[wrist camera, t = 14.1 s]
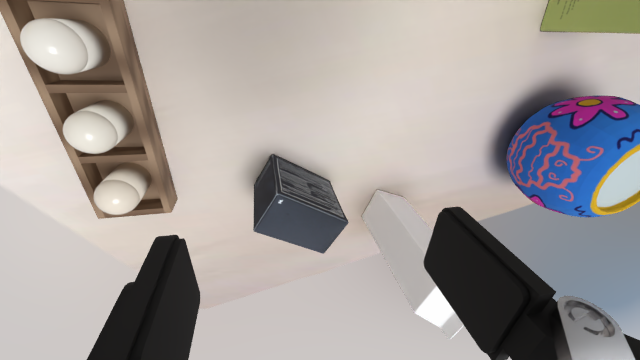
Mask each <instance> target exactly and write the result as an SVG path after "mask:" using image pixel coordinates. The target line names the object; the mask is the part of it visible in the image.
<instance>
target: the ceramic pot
mask: <svg viewBox="0 0 640 360" xmlns="http://www.w3.org/2000/svg"><path fill="white" fill-rule="evenodd" d="M507 166H508V171H509V174H510V176H511V178H512V180H513V182H514V184H515V185H516V186H517V187H518V188H519V189H520V190H521V191H522V193H523V194H524V195H525V196H526V197H528V198H529V199H530V200H531V201H532V202H534V203H536V204H537V205H540V206H542V207H544V208H547V209H549V210H552V211H556V212H559V213H563V214H567V215H571V216H578V217H598V216H606V215H611V214H614V213H617V212H620V211H623V210H625V209H627V208H629V207H631V206H633V205H634V204H636V203H637V202H639V201H640V105H638V104H636V103H634V102H632V101H629V100H626V99H623V98H620V97H615V96H586V97H577V98H571V99H567V100H563V101H559V102H556V103H553V104H551V105H549V106H546V107H544V108H543V109H541V110H540V111H538V112H537V113H535V114H534V115H533V116H531V117H530V118H528V119H527V121H526V122H525V123H524V124H523V125H522V126H521V127H520V128H519V129H518V131H517V132H516V134H515V135H514V137H513V138H512V140H511V142H510V145H509V148H508V152H507Z"/></svg>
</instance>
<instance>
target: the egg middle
mask: <svg viewBox="0 0 640 360" xmlns="http://www.w3.org/2000/svg"><path fill="white" fill-rule="evenodd" d="M133 127H134V120H133V117H132V115H131V113H130V112H129V111H128V110H127V109H126V108H125V107H124V106H122V105H121V104H119V103H117V102H114V101H110V100H102V101H98V102H96V103H94V104H92V105H90V106H88V107H85V108H83V109H81V110H79V111H77V112H75V113H73V114H72V115H70V116H69V117H68V118H67V119H66V120H65V122H64V125H63V134H64V137H65V139H66V140H67V142H68V143H69V144H70V145H71V146H72V147H74V148H75V149H77V150H79V151H82V152H85V153H90V154H99V153H104V152H106V151H109V150H110V149H112V148H113V147H114V146H116V145H117V144H118V143H119V142H120V141H121V140H123V139H124V138H125V137H126V136H127V135H128V134H130V133H131V131H132V130H133Z"/></svg>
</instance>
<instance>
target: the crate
mask: <svg viewBox="0 0 640 360" xmlns="http://www.w3.org/2000/svg"><path fill="white" fill-rule="evenodd" d="M0 12H1V14H2V16H3V18H4V20H5V22H6V24H7V27H8V29H9V31H10V33H11V35H12V37H13V39H14V41H15V44H16V46H17V48H18V50H19V52H20V54H21V56H22V58H23V60H24V63H25V65H26V67H27V69H28V71H29V73H30V75H31V77H32V79H33V82H34V84H35V86H36V88H37V90H38V92H39V94H40V96H41V99H42V101H43V103H44V105H45V107H46V109H47V111H48V113H49V115H50V118H51V120H52V122H53V124H54V126H55V128H56V130H57V132H58V134H59V137H60V139H61V141H62V143H63V145H64V147H65V149H66V151H67V154H68V156H69V158H70V160H71V162H72V164H73V166H74V168H75V170H76V173H77V175H78V177H79V179H80V181H81V183H82V185H83V187H84V189H85V192H86V194H87V196H88V198H89V200H90V202H91V204H92V206H93V209H94V211H95V213H96V215H97V217H98V219H100V218H112V217H124V216H136V215H147V214H159V213H171V212H172V210H173V208H174V206H175V203H176V201H177V195H176V191H175V188H174V184H173V181H172V177H171V173H170V170H169V166H168V162H167V159H166V155H165V151H164V148H163V144H162V140H161V137H160V133H159V129H158V126H157V122H156V118H155V115H154V111H153V107H152V104H151V100H150V96H149V93H148V89H147V85H146V82H145V78H144V75H143V71H142V67H141V64H140V60H139V56H138V53H137V49H136V45H135V42H134V38H133V34H132V31H131V27H130V23H129V20H128V16H127V12H126V9H125V5H124V1H123V0H0ZM41 18H52V19H78V20H83V21H86V22H88V23H90V24H92V25H94V26H95V27H97V28H98V29H99V30H100V31H101V32H102V33H103V34H104V36H105V37H106V39H107V40H108V42H109V45H110V50H111V55H110V58H109V60H108V62H107V63H106V64H105V65H103V66H101V67H98V68H94V69H90V70H86V71H83V72H79V73H75V74H58V73H54V72H50V71H48V70H46V69H44V68H42V67H40V66H38V65H37V64H36V63H34V62H33V61H32V60H31V59H30V58H29V57H28V56H27V54H26V53H25V51H24V50H23V48H22V45H21V42H20V34H21V31H22V28H23V27H24V26H25V25H26V24H27V23H28V22H30V21H32V20H35V19H41ZM102 100H110V101H114V102H117V103H119V104H121V105H122V106H124V107H125V108H126V109H127V110H128V111H129V112H130V113H131V115H132V117H133V120H134V127H133V130H132V131H131V133H130V134H128V135H127V136H126V137H125V138H124V139H123V140H121V141H120V142H119V143H118V144H117V145H116V146H114V147H113V148H112V149H110V150H109V151H106V152H104V153H99V154H90V153H85V152H82V151H79V150H77V149H75V148H74V147H72V146H71V145H70V144H69V143H68V142H67V140H66V139H65V137H64V134H63V125H64V122H65V120H66V119H67V118H68V117H69V116H70V115H72V114H73V113H75V112H77V111H79V110H81V109H83V108H85V107H88V106H90V105H92V104H94V103H96V102H98V101H102ZM122 163H136V164H139V165H141V166H143V167H144V168H146V169H147V170H148V171H149V173H150V174H151V177H152V183H151V186H150V187H149V189H148V190H147V192H146V193H145V195H144V196H143V198H142V199H141V201H140V202H139V204H138V205H137V206H136V207H135V208H134V209H133V210H132V211H130V212H128V213H125V214H121V215H112V214H108V213H105V212H103V211H102V210H100V209H99V208H98V207H97V206H96V204H95V202H94V191H95V189H96V188H97V186H98V185H99V184H100V183H101V182H102V181H103V180H104V179H105V178H106V177H107V176H108V175H109V174H110V173H111V172H112V171H113V170H114V169H115V168H116V167H117V166H118V165H120V164H122Z"/></svg>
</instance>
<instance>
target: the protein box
mask: <svg viewBox="0 0 640 360" xmlns="http://www.w3.org/2000/svg"><path fill="white" fill-rule="evenodd" d="M540 31H543V32H595V33H637V34H640V0H549V2H548V6H547V9H546V12H545V15H544V18H543V22H542V25H541V28H540Z"/></svg>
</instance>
